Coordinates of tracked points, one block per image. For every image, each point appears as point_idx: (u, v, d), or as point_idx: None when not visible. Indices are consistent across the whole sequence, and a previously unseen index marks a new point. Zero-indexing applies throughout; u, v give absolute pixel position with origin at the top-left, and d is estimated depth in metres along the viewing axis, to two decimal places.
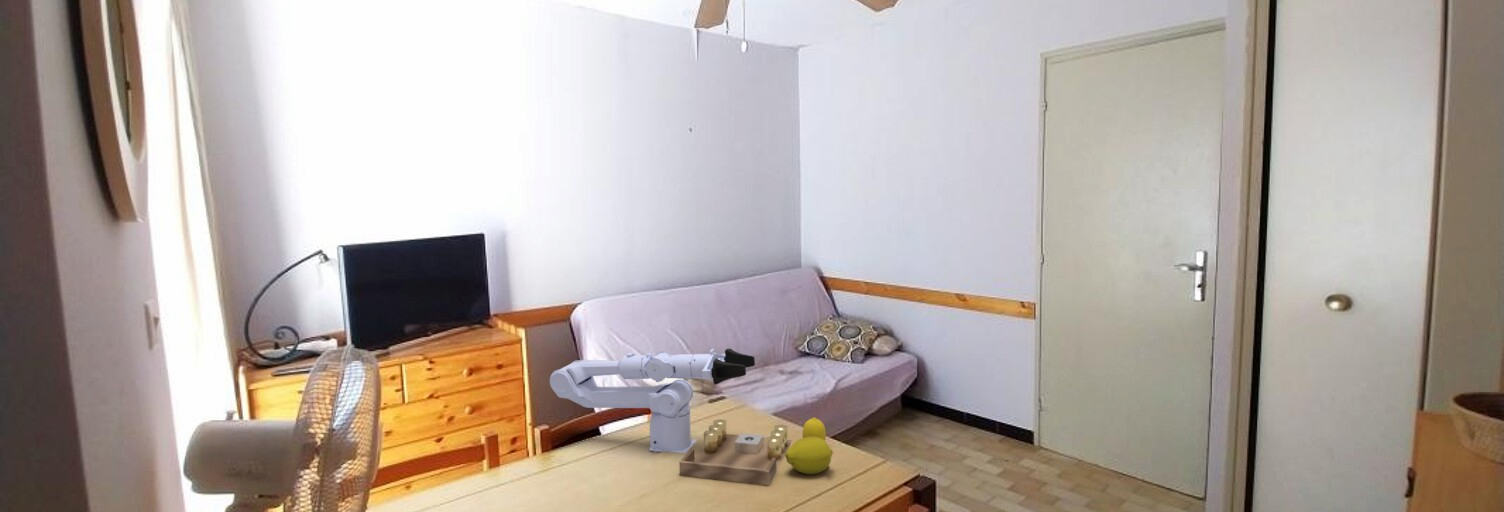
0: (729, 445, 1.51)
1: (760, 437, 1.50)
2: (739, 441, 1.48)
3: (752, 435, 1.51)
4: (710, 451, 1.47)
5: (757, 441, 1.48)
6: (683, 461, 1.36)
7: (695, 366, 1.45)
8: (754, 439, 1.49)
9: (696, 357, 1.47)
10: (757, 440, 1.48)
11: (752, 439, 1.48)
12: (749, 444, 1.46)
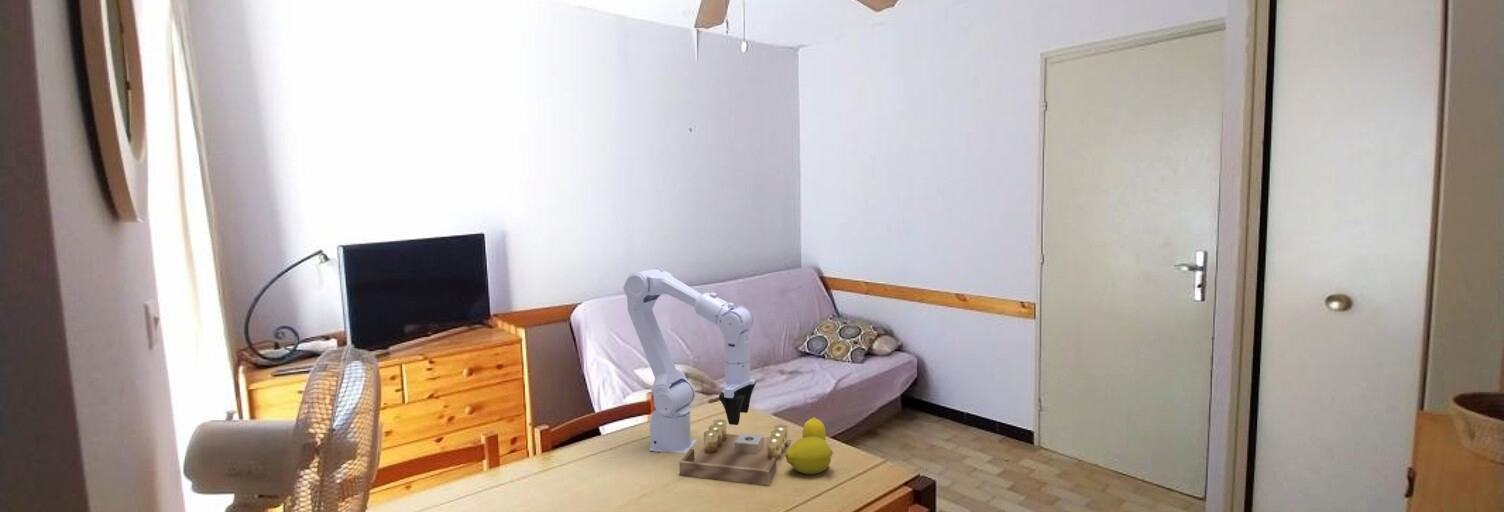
0: (729, 445, 1.51)
1: (760, 437, 1.50)
2: (739, 441, 1.48)
3: (752, 435, 1.51)
4: (710, 451, 1.47)
5: (757, 441, 1.48)
6: (683, 461, 1.36)
7: (737, 369, 1.40)
8: (754, 439, 1.49)
9: (746, 367, 1.40)
10: (757, 440, 1.48)
11: (752, 439, 1.48)
12: (749, 444, 1.46)
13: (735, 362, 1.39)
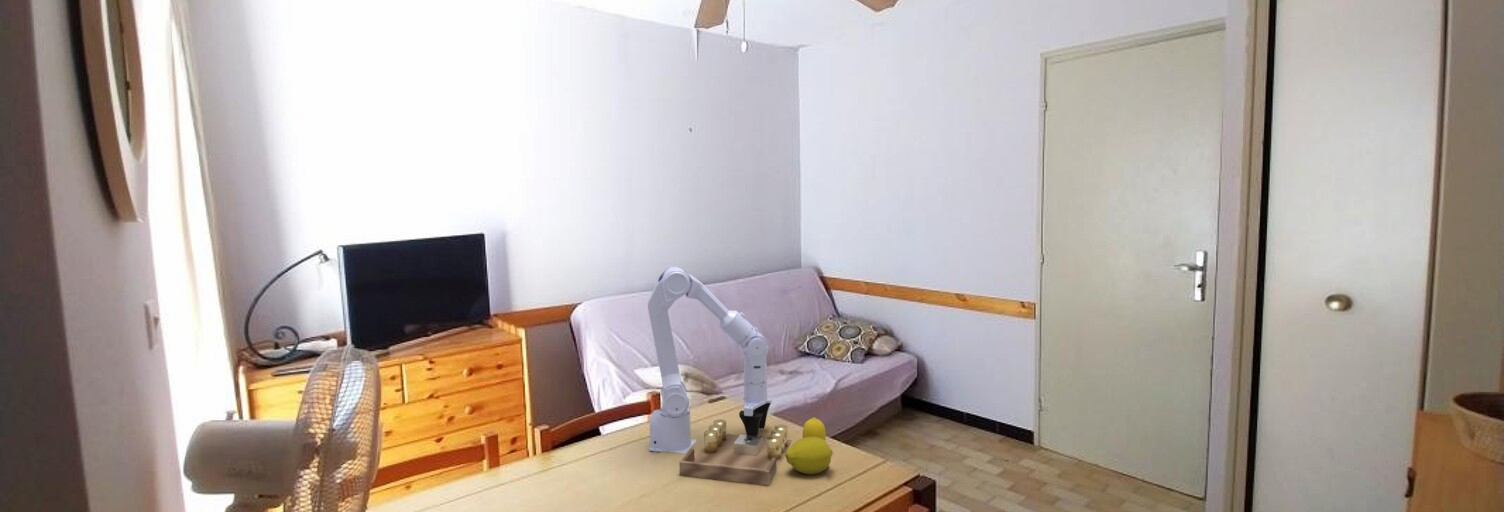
0: (729, 445, 1.51)
1: (759, 438, 1.49)
2: (738, 442, 1.47)
3: (751, 436, 1.50)
4: (710, 451, 1.47)
5: (756, 442, 1.47)
6: (683, 461, 1.36)
7: (755, 389, 1.51)
8: (753, 440, 1.48)
9: (763, 387, 1.52)
10: (757, 441, 1.47)
11: (751, 440, 1.48)
12: (748, 445, 1.46)
13: (761, 382, 1.51)
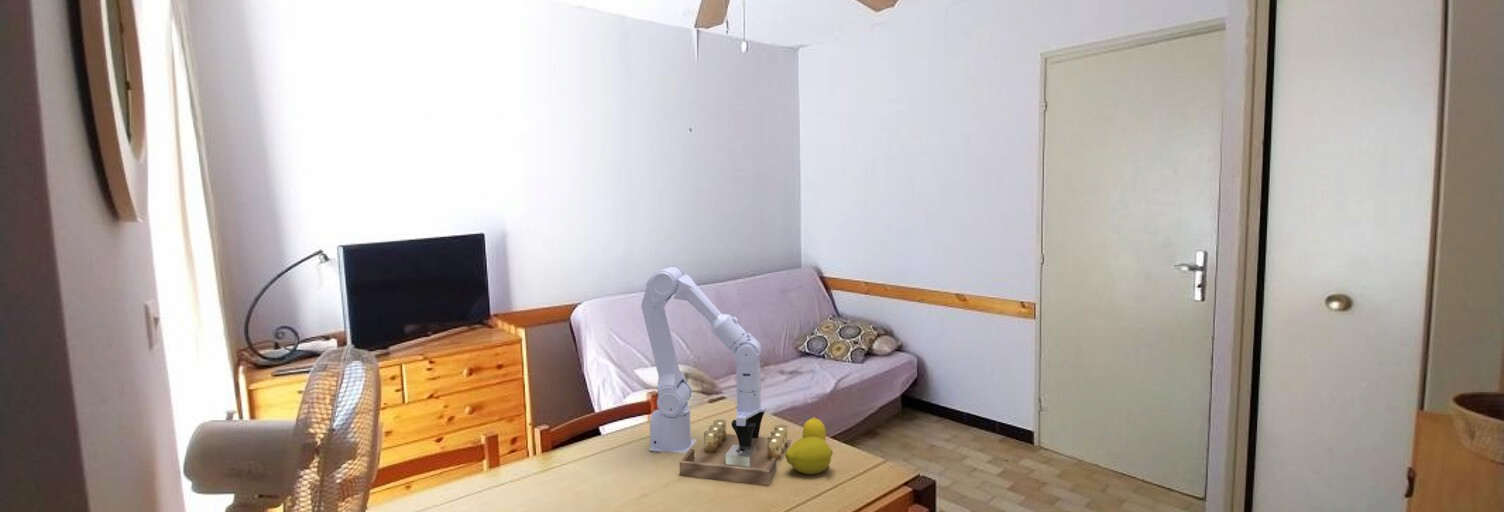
0: (729, 445, 1.51)
1: (752, 449, 1.43)
2: (730, 453, 1.41)
3: (744, 447, 1.44)
4: (710, 451, 1.47)
5: (749, 453, 1.41)
6: (683, 461, 1.36)
7: (748, 397, 1.45)
8: (746, 451, 1.42)
9: (757, 395, 1.46)
10: (749, 452, 1.41)
11: (744, 451, 1.42)
12: (740, 457, 1.40)
13: (750, 391, 1.45)
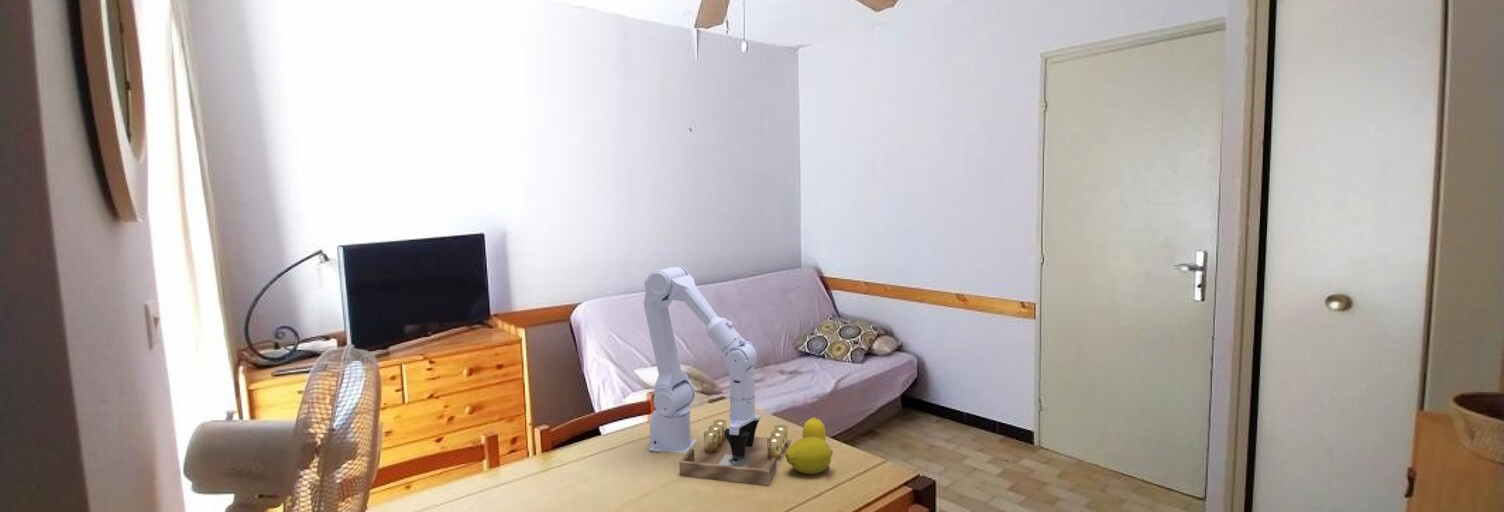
0: (729, 445, 1.51)
1: (746, 459, 1.38)
2: (723, 464, 1.36)
3: (737, 456, 1.39)
4: (710, 451, 1.47)
5: (742, 463, 1.36)
6: (683, 461, 1.36)
7: (742, 405, 1.40)
8: (739, 461, 1.37)
9: (751, 403, 1.41)
10: (742, 462, 1.36)
11: (736, 461, 1.37)
12: None
13: (740, 398, 1.40)
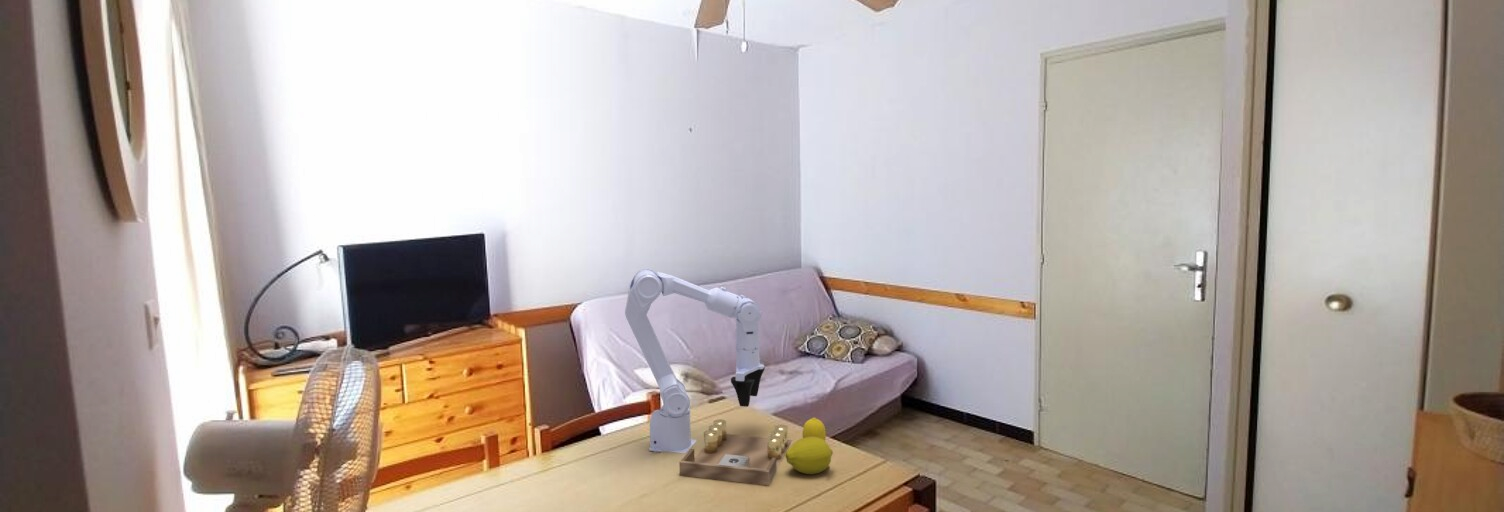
0: (729, 445, 1.51)
1: (746, 459, 1.38)
2: (723, 463, 1.36)
3: (737, 456, 1.39)
4: (710, 451, 1.47)
5: (742, 463, 1.36)
6: (683, 461, 1.36)
7: (747, 355, 1.51)
8: (739, 461, 1.37)
9: (755, 353, 1.52)
10: (742, 462, 1.36)
11: (736, 461, 1.37)
12: None
13: (753, 348, 1.51)
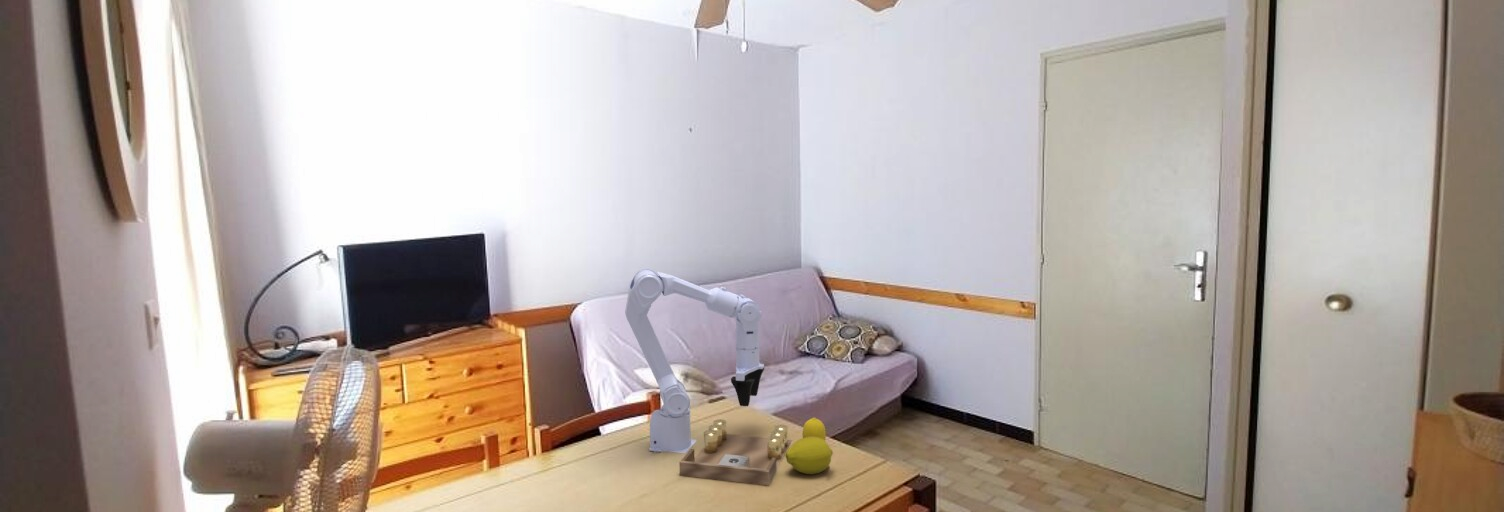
0: (729, 445, 1.51)
1: (746, 459, 1.38)
2: (723, 463, 1.36)
3: (737, 456, 1.39)
4: (710, 451, 1.47)
5: (742, 463, 1.36)
6: (683, 461, 1.36)
7: (747, 354, 1.51)
8: (739, 461, 1.37)
9: (755, 353, 1.52)
10: (742, 462, 1.36)
11: (736, 461, 1.37)
12: None
13: (753, 348, 1.52)
